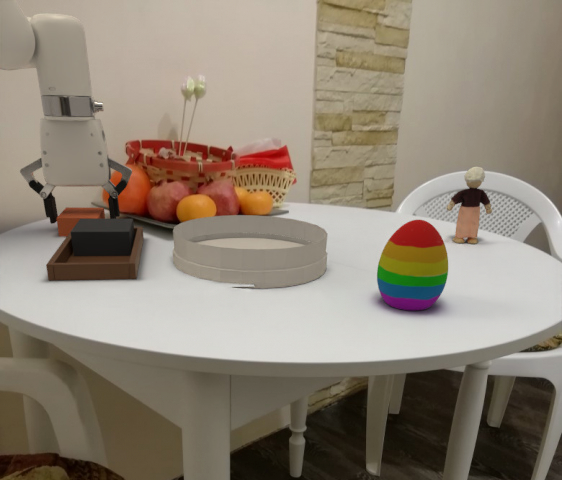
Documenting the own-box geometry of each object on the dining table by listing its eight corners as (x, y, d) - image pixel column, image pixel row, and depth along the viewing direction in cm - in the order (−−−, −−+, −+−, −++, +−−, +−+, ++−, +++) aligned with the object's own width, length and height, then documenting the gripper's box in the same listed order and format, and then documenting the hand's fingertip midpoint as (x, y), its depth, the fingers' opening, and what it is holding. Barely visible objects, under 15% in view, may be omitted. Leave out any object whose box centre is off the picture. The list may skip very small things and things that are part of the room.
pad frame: (49, 285, 68) (45, 264, 67) (75, 243, 87) (73, 226, 85) (136, 283, 70) (134, 263, 68) (143, 243, 88) (142, 226, 87)
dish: (212, 240, 91) (211, 210, 89) (340, 255, 86) (343, 223, 84) (143, 275, 73) (140, 238, 70) (302, 297, 67) (305, 257, 65)
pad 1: (59, 239, 88) (56, 217, 87) (68, 227, 96) (65, 207, 95) (100, 239, 90) (97, 217, 88) (106, 227, 98) (104, 207, 96)
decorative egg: (399, 288, 72) (410, 210, 67) (454, 305, 66) (470, 222, 62) (360, 301, 66) (369, 217, 62) (416, 320, 61) (430, 230, 57)
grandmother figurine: (478, 239, 100) (492, 165, 94) (487, 244, 96) (503, 168, 90) (437, 239, 99) (450, 164, 93) (446, 244, 95) (459, 167, 90)
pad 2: (73, 256, 78) (70, 231, 76) (82, 241, 86) (79, 218, 84) (131, 255, 79) (129, 231, 77) (135, 240, 87) (133, 218, 86)
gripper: (127, 109, 89) (137, 216, 97) (15, 107, 86) (35, 217, 94) (124, 111, 83) (135, 225, 90) (2, 108, 80) (25, 227, 87)
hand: (84, 221), depth 92 cm, fingers open, 9 cm apart
